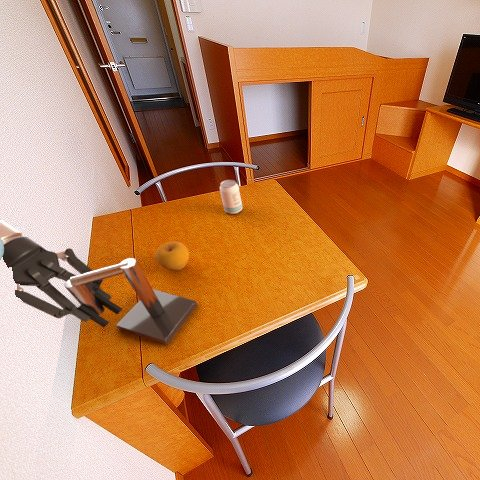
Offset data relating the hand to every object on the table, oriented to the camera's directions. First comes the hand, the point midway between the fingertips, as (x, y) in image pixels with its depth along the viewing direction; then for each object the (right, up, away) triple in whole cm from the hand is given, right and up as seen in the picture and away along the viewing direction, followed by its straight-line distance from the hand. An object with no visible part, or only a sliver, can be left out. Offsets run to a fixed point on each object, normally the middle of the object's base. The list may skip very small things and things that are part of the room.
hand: (113, 318), depth 62 cm
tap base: (+5, -3, +10) cm, 11 cm away
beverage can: (+12, +29, +47) cm, 57 cm away
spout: (+1, -2, +6) cm, 7 cm away
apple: (+3, +9, +23) cm, 25 cm away
